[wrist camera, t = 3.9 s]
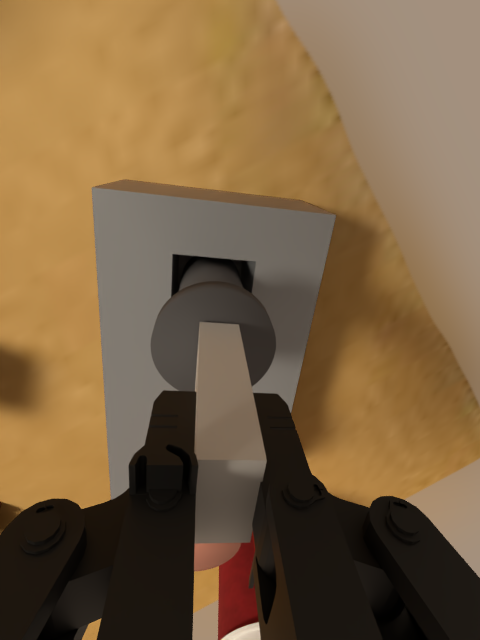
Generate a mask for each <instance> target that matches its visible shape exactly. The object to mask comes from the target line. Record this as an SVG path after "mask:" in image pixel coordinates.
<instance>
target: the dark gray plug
mask: <svg viewBox="0 0 480 640" xmlns="http://www.w3.org/2000/svg"><path fill="white" fill-rule="evenodd" d="M200 322H210V323H225V324H239V328H240V333H241V337H242V342H243V347H244V352H245V357H246V362H247V367H248V371H249V376H250V381H251V386H253V385H255V384H256V383H257V382H258V381H259V380H260V379H261V378H262V377H263V376H264V375H265V374H266V372H267V371H268V369H269V368H270V366H271V364H272V361H273V359H274V355H275V350H276V336H275V331H274V328H273V325H272V323H271V320H270V318H269V315H268V313H267V311H266V309H265V307H264V306H263V305H262V303H261V302H260V301H259V300H258V299H257V298H256V297H255V296H254V295H253V294H252V293H250V292H249V291H247V290H245V289H244V288H243V286H242V283H241V279H240V276H239V273H238V270H237V267H236V265H235V264H234V262H233V261H232V260H231V259H223V258H212V257H201V256H193V257H192V258H191V259H190V260H189V261H188V262H187V263H186V265H185V267H184V269H183V273H182V278H181V283H180V288H179V291H178V292H177V293H176V294H174V295H173V296H172V297H171V298H170V299H169V300H168V301H167V302H166V303H165V304H164V305H163V307H162V309H161V310H160V312H159V314H158V316H157V319H156V322H155V325H154V329H153V332H152V336H151V345H150V346H151V355H152V359H153V362H154V364H155V367H156V369H157V370H158V372H159V373H160V375H161V376H162V377H163V379H164V380H165V381H166V382H167V383H169V384H170V385H171V386H172V387H174V388H175V389H177V390H179V391H194V392H195V379H196V366H197V352H198V339H199V326H200Z"/></svg>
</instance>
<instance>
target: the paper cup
mask: <svg viewBox="0 0 480 640" xmlns="http://www.w3.org/2000/svg"><path fill="white" fill-rule="evenodd" d="M254 553H255V544H254V536H253V531H252V536H251V540H250V542H247V543H241V546H240V548H239V550H238V552H237V553H236V554H235V555H234V556H233V557H232V558H231V559H230V560H228V561H227V562H225V563H223V564H221V565H219V611H218V612H219V613H218V640H261V637H260V628H259V620H258V611H257V602H256V593H255V584H254V587H253V588H249V576H250V572H251V567H252V562H253V558H254Z"/></svg>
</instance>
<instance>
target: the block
mask: <svg viewBox="0 0 480 640" xmlns="http://www.w3.org/2000/svg"><path fill="white" fill-rule="evenodd" d="M92 200H93V216H94V232H95V248H96V264H97V280H98V296H99V313H100V329H101V345H102V361H103V377H104V393H105V409H106V426H107V442H108V458H109V474H110V490H111V500H112V499H115V498H116V497H118V496H119V495H121V494H123V493H124V492H125V491H126V490H127V489H128V488H129V466H128V465H129V463H130V461H131V459H132V457H133V455H134V454H135V453H136V452H137V451H138V450H139V449H141V448H142V447H143V446H144V445H145V441H146V436H147V431H148V428H149V422H150V417H151V413H152V408H153V403H154V401H155V399H156V398H157V397H158V396H159V395H160V394H161V392H162V391H163V390H168V391H179V390H177V389H175V388H174V387H172V386H171V385H170V384H169V383H167V382H166V381H165V380H164V379H163V377H162V376H161V375H160V373H159V372H158V370H157V369H156V367H155V364H154V362H153V359H152V355H151V346H150V345H151V336H152V332H153V329H154V325H155V322H156V319H157V316H158V314H159V312H160V310H161V309H162V307H163V305H164V304H165V303H166V302H167V301H168V300H169V299H170V298H171V297H172V296H173V295H174V294H176V293H177V292H178V291H179V288H180V283H181V278H182V273H183V269H184V267H185V265H186V263H187V262H188V261H189V260H190V259H191V258H192V257H193V256H201V257H212V258H223V259H231V260H232V261H233V262H234V264H235V265H236V267H237V270H238V273H239V276H240V279H241V283H242V286H243V288H244V289H245V290H247V291H249V292H250V293H252V294H253V295H254V296H255V297H256V298H257V299H258V300H259V301H260V302H261V303H262V305H263V306H264V307H265V309H266V311H267V313H268V315H269V318H270V320H271V323H272V325H273V328H274V331H275V336H276V350H275V355H274V359H273V361H272V364H271V366H270V368H269V369H268V371H267V372H266V374H265V375H264V376H263V377H262V378H261V379H260V380H259V381H258V382H257V383H256V384H255V385H253V386H252V391H253V393H275V394H278V395H279V396H280V397H281V398H282V399H283V400H284V401H285V402H286V403H287V404H288V407H289V410H290V413H291V411H292V406H293V402H294V398H295V393H296V389H297V385H298V380H299V376H300V371H301V367H302V363H303V358H304V354H305V350H306V345H307V341H308V336H309V332H310V328H311V323H312V319H313V315H314V310H315V306H316V301H317V297H318V293H319V288H320V284H321V280H322V275H323V271H324V267H325V262H326V258H327V253H328V249H329V245H330V240H331V236H332V232H333V227H334V223H335V218H336V215H335V214H332V213H330V212H328V211H325V210H323V209H321V208H318V207H316V206H313V205H311V204H309V203H306V202H304V201H301V200H294V199H285V198H277V197H268V196H260V195H251V194H243V193H235V192H226V191H218V190H209V189H201V188H192V187H184V186H175V185H167V184H158V183H150V182H141V181H133V180H120V181H116V182H111V183H107V184H103V185H99V186H95V187H92Z"/></svg>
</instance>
